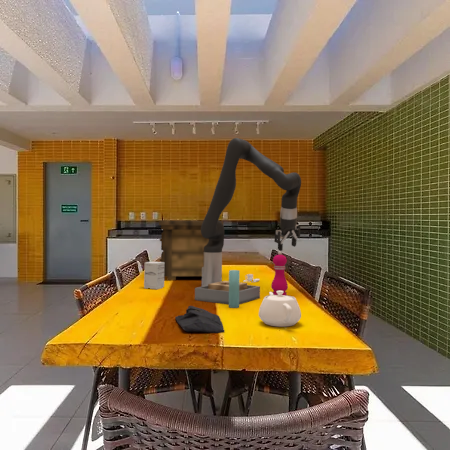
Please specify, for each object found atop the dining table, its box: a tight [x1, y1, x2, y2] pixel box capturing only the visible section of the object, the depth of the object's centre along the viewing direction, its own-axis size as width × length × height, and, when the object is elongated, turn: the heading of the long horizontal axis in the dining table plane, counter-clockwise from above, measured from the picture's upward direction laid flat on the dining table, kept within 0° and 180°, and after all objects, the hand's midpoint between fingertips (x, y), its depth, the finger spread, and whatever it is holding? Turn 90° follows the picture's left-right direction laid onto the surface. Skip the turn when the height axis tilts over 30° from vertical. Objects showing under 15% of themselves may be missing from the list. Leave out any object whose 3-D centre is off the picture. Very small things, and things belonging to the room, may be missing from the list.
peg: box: [228, 269, 240, 309], centre depth 171 cm, size 4×4×14 cm
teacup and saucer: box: [243, 273, 260, 283], centre depth 242 cm, size 9×8×4 cm
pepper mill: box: [270, 250, 289, 296], centre depth 195 cm, size 7×7×20 cm
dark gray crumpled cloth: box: [175, 305, 225, 334], centre depth 141 cm, size 15×22×5 cm
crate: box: [158, 220, 225, 281], centre depth 257 cm, size 35×35×33 cm
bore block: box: [208, 280, 248, 291], centre depth 187 cm, size 12×12×6 cm
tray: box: [194, 284, 261, 305], centre depth 187 cm, size 20×20×5 cm
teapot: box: [258, 291, 302, 328], centre depth 145 cm, size 22×14×11 cm, turn 10°
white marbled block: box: [143, 261, 165, 290], centre depth 215 cm, size 7×7×13 cm
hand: (286, 248), depth 209 cm, fingers open, 8 cm apart
